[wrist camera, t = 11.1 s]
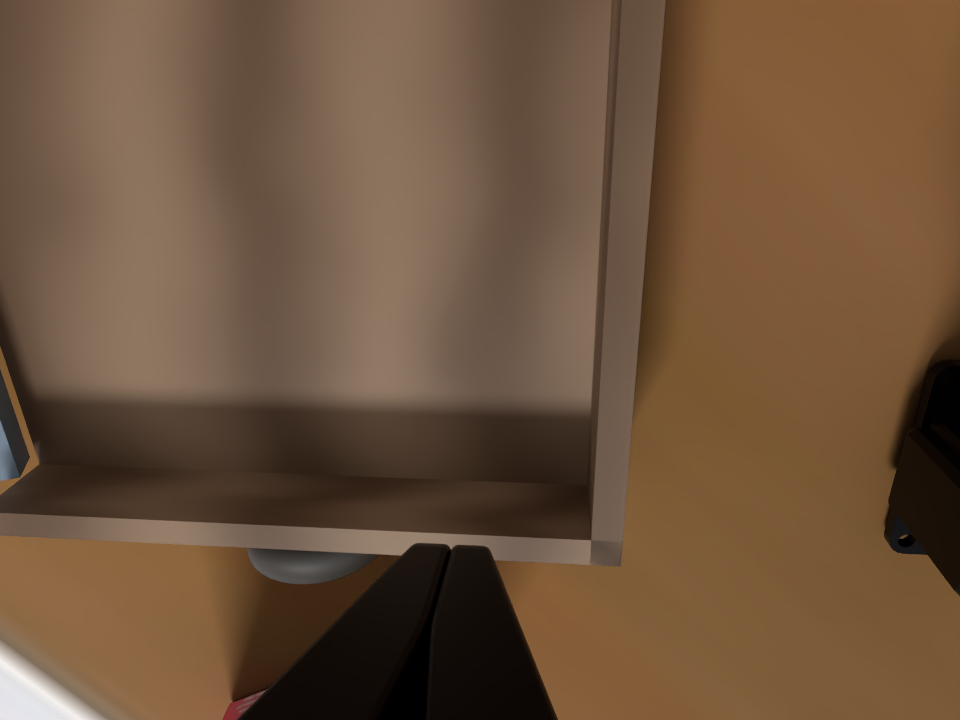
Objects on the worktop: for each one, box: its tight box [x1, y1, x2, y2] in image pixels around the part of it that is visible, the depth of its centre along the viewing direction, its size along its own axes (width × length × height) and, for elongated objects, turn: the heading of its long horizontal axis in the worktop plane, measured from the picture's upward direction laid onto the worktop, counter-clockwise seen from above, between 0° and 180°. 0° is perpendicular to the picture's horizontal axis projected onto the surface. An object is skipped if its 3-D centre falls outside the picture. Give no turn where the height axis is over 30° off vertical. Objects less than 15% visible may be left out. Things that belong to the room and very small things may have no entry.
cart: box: [0, 0, 666, 584], centre depth 18 cm, size 18×19×4 cm
